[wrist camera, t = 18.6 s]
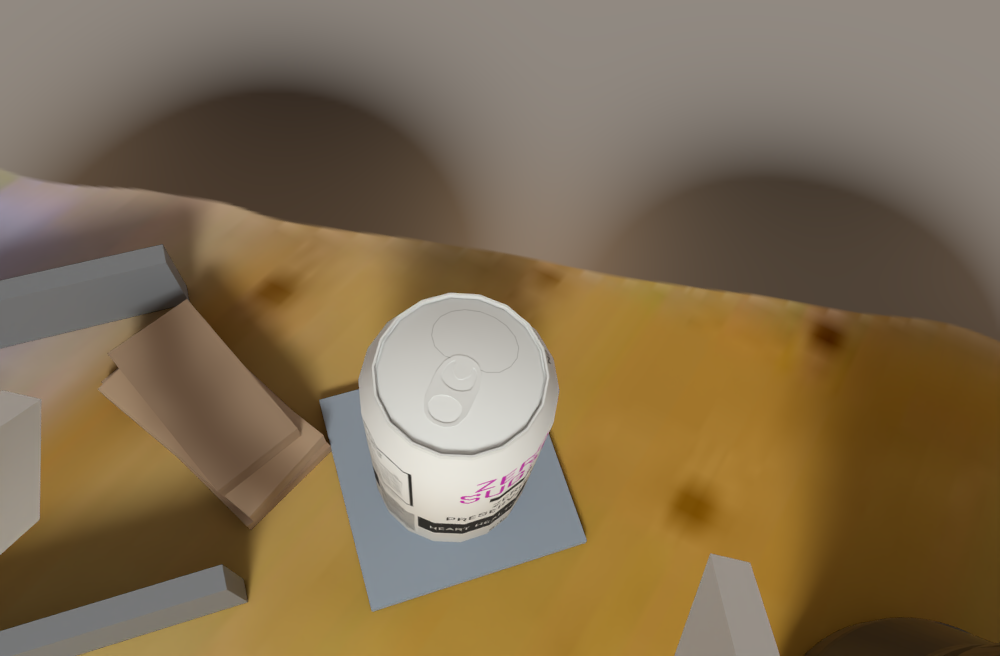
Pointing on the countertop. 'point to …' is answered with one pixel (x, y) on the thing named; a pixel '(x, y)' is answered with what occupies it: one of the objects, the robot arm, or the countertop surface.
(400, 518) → the supplement can
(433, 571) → the slate mat
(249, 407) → the walnut offcut stack
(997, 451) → the countertop surface
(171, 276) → the grey three-walled tray
